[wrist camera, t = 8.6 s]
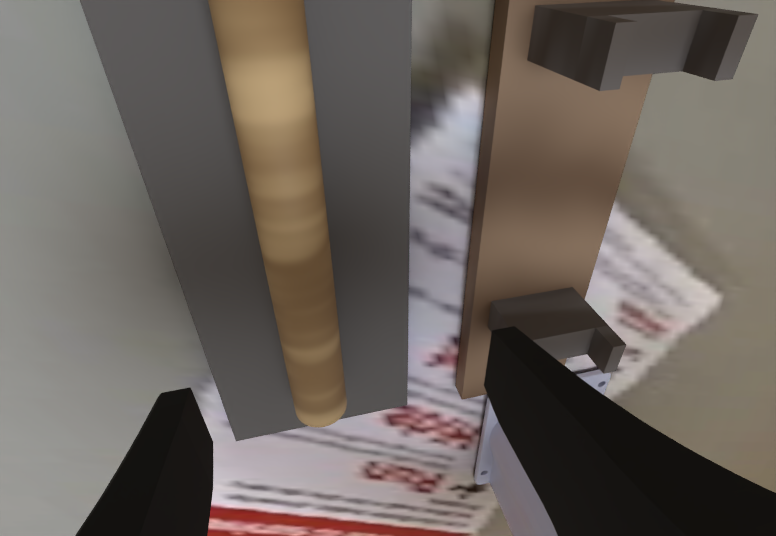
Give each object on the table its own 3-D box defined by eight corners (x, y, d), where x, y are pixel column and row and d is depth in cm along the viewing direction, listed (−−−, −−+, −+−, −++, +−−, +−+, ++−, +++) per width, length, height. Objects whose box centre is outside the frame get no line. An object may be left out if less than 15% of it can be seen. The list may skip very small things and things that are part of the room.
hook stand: (551, 365, 27) (603, 438, 23) (455, 385, 26) (492, 465, 22) (713, -217, 13) (915, -288, 9) (519, -227, 12) (652, -312, 8)
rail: (344, 381, 22) (348, 423, 21) (295, 388, 22) (294, 430, 20) (296, -76, 12) (295, -79, 10) (201, -75, 12) (182, -77, 10)
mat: (404, 396, 25) (407, 404, 25) (236, 431, 24) (236, 441, 23) (407, -233, 11) (414, -240, 11) (-1, -253, 10) (-14, -263, 9)
